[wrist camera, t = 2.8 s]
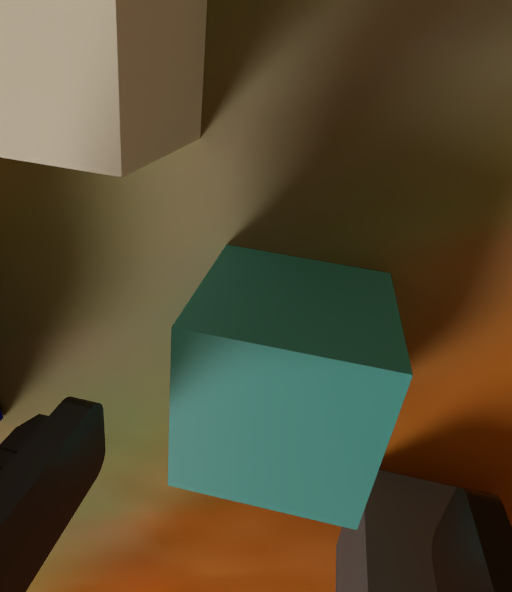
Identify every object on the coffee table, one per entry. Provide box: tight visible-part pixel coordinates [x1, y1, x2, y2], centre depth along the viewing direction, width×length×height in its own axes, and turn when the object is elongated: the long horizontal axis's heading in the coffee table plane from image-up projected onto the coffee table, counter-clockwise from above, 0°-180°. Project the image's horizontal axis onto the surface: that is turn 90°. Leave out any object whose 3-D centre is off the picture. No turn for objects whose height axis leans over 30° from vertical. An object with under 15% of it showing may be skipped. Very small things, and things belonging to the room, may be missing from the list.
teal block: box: [168, 245, 413, 530], centre depth 12 cm, size 5×5×5 cm
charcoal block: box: [336, 470, 499, 592], centre depth 16 cm, size 5×5×5 cm
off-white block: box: [0, 0, 207, 177], centre depth 9 cm, size 5×5×5 cm
